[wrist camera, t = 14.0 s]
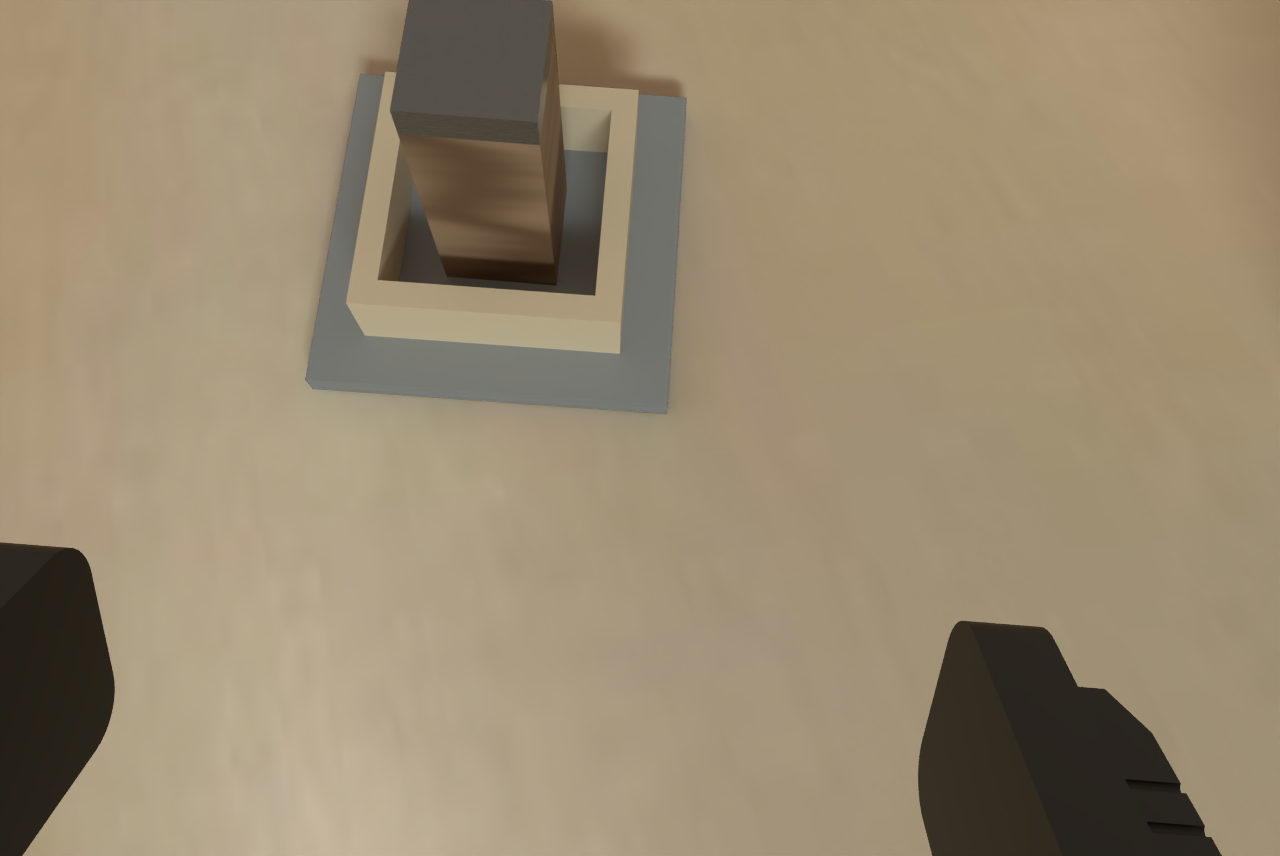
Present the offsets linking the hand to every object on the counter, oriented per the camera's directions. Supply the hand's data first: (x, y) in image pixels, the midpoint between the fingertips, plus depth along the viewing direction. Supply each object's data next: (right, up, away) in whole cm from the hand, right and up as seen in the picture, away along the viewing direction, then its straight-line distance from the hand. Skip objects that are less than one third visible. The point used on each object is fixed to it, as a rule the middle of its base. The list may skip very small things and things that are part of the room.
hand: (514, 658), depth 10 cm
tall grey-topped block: (-4, +10, +32) cm, 34 cm away
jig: (-4, +10, +33) cm, 35 cm away
